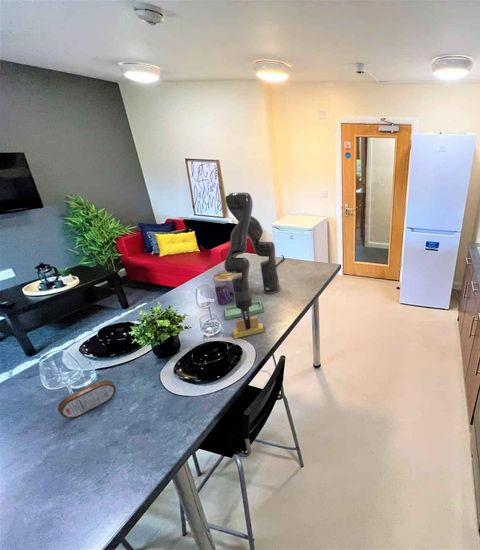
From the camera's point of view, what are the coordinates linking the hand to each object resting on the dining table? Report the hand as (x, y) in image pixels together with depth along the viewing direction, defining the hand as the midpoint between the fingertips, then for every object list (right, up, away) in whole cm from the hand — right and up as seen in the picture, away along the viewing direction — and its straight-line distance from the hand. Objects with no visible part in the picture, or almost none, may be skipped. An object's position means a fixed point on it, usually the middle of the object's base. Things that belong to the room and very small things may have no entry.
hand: (248, 327), depth 145 cm
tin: (-39, -22, -41) cm, 61 cm away
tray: (-10, +6, +19) cm, 23 cm away
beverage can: (-26, +10, +28) cm, 40 cm away
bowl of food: (-28, +16, +42) cm, 53 cm away
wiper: (0, -3, +1) cm, 3 cm away
